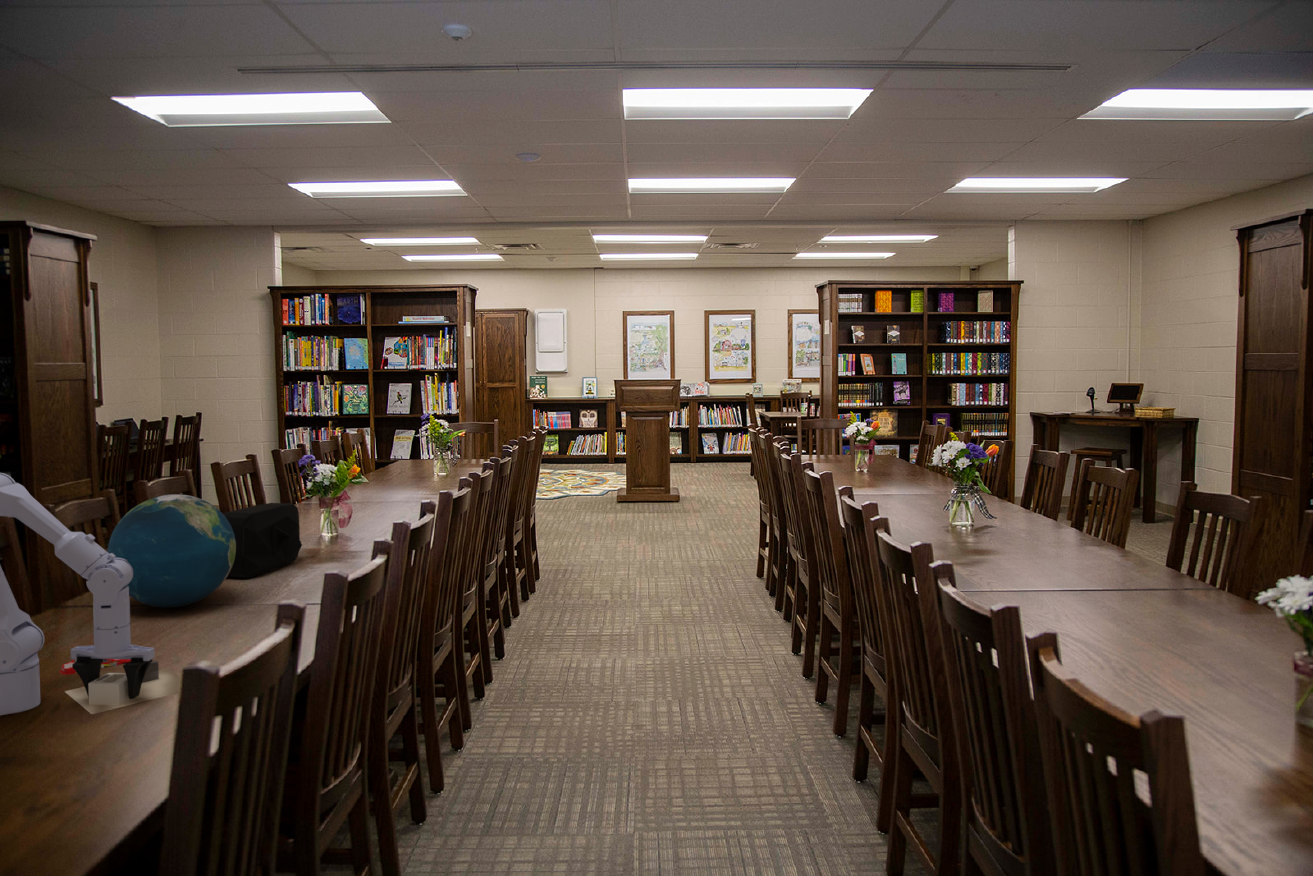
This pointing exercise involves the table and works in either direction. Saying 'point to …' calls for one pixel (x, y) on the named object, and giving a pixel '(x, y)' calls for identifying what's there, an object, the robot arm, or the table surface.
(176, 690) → the switch board
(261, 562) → the black hard case
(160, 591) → the globe
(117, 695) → the toy microwave
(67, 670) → the race car
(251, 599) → the table surface
